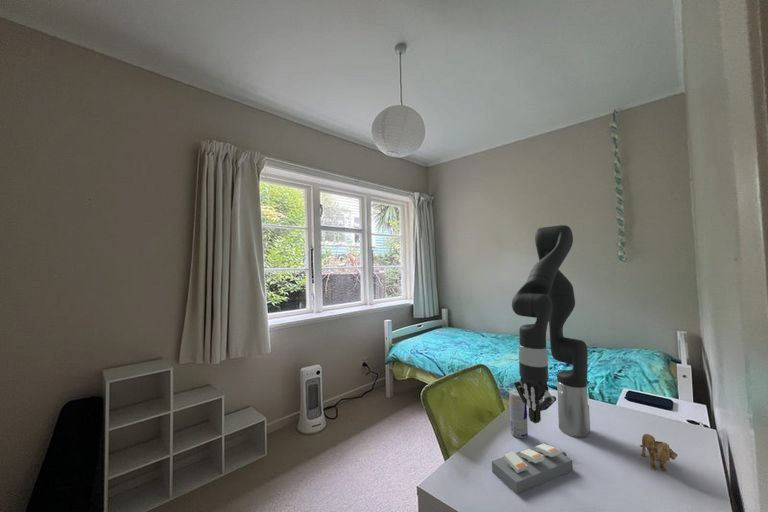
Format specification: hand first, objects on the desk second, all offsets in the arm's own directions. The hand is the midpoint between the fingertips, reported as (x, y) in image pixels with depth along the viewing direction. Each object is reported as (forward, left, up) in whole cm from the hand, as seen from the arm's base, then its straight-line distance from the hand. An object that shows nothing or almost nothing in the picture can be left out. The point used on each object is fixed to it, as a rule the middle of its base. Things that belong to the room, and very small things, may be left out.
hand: (534, 421), depth 83 cm
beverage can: (-11, -17, -15) cm, 25 cm away
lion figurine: (-37, +11, -15) cm, 41 cm away
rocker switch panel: (-2, -2, -15) cm, 15 cm away
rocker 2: (-7, -1, -12) cm, 14 cm away
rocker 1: (+6, -2, -12) cm, 14 cm away
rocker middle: (0, -1, -12) cm, 12 cm away
